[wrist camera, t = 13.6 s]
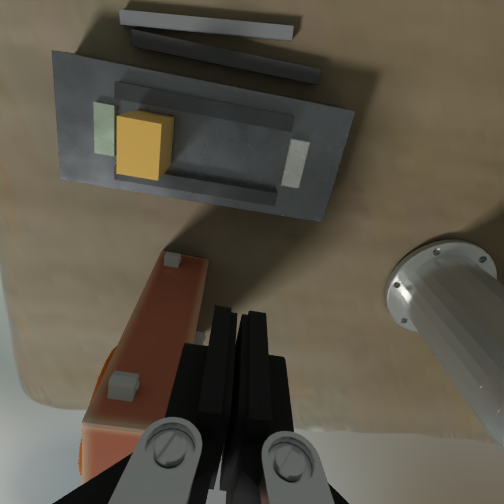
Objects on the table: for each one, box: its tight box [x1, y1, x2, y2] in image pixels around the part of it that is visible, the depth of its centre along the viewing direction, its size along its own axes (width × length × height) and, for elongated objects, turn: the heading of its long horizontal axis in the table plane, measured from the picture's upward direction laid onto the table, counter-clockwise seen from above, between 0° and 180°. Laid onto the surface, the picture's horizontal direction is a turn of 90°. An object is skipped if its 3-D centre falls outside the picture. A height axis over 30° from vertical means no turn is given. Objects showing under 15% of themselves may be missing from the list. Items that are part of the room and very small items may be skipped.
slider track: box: [52, 50, 355, 223], centre depth 31 cm, size 24×10×5 cm, turn 80°
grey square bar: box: [119, 9, 294, 41], centre depth 28 cm, size 14×1×1 cm, turn 86°
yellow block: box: [116, 109, 175, 181], centre depth 27 cm, size 3×4×5 cm
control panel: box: [78, 251, 209, 485], centre depth 32 cm, size 21×7×15 cm
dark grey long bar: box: [131, 29, 322, 85], centre depth 29 cm, size 16×1×1 cm, turn 80°
